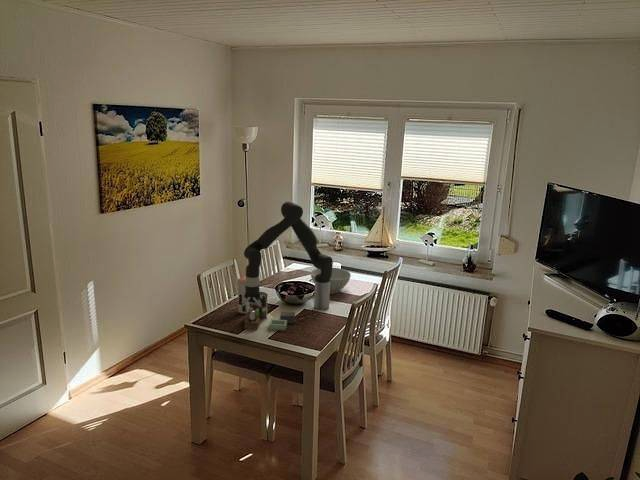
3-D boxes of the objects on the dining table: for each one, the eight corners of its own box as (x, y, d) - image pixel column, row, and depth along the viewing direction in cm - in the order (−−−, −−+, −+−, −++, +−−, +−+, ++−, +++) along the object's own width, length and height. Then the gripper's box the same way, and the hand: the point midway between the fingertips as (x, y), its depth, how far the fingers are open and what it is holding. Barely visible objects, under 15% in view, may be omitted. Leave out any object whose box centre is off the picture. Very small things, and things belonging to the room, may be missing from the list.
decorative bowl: (350, 298, 299) (351, 280, 296) (309, 296, 299) (309, 279, 296) (349, 284, 325) (349, 268, 322) (310, 282, 325) (311, 266, 322)
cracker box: (250, 304, 283) (250, 272, 278) (259, 306, 281) (259, 273, 276) (237, 312, 271) (237, 278, 266) (246, 314, 268) (245, 280, 263)
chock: (280, 318, 265) (280, 311, 264) (294, 319, 266) (294, 311, 264) (280, 323, 259) (280, 315, 258) (294, 323, 260) (294, 316, 259)
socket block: (247, 323, 257) (247, 316, 256) (259, 324, 256) (259, 317, 255) (244, 329, 250) (244, 322, 249) (257, 329, 250) (257, 322, 249)
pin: (250, 325, 255) (250, 310, 252) (255, 325, 254) (255, 310, 252) (249, 327, 252) (249, 312, 250) (254, 327, 252) (254, 312, 250)
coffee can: (262, 322, 258) (262, 299, 255) (246, 319, 262) (245, 296, 258) (270, 316, 268) (270, 293, 264) (254, 313, 271) (254, 290, 268)
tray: (270, 324, 257) (271, 319, 256) (287, 325, 257) (287, 320, 256) (268, 329, 250) (268, 324, 250) (285, 330, 250) (285, 325, 249)
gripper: (266, 282, 250) (266, 310, 254) (240, 280, 251) (240, 308, 255) (264, 287, 243) (264, 315, 247) (237, 285, 244) (237, 314, 248)
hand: (252, 312), depth 251 cm, fingers open, 8 cm apart
